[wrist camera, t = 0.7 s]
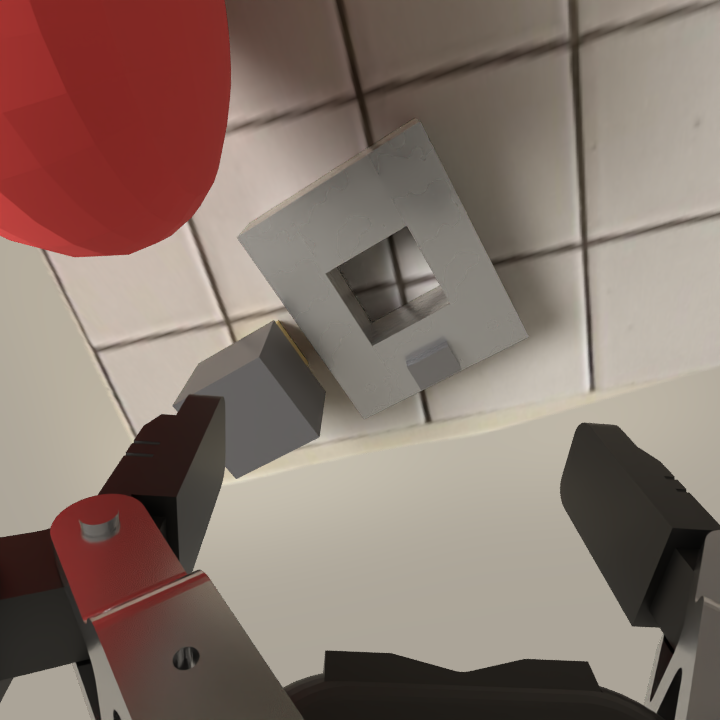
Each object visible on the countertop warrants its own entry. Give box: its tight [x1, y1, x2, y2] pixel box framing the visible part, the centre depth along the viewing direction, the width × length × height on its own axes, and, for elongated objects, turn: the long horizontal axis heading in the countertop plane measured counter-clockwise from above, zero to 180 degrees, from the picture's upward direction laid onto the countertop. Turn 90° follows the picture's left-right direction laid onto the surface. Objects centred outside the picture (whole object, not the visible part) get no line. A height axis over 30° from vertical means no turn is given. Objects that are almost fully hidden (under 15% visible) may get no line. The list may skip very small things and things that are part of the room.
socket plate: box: [237, 118, 529, 419], centre depth 28 cm, size 10×12×4 cm
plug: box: [173, 320, 326, 479], centre depth 29 cm, size 5×5×7 cm
